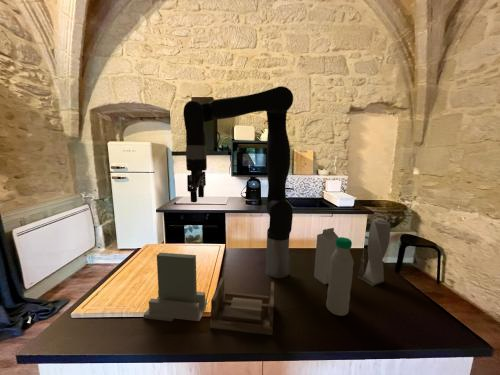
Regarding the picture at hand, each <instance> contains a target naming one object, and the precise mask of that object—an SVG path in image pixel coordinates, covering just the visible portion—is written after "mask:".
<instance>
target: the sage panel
mask: <svg viewBox="0 0 500 375" xmlns="http://www.w3.org/2000/svg"><path fill="white" fill-rule="evenodd" d="M156 267H157V287H158V288H157V289H158V290H159V299H161V300H171V301H180V302H190V303H197V292H198V290H197V286H198V285H197V255H195V254H189V253H188V254H184V253H174V252H173V253H171V252H159V253H157V255H156ZM158 290H157V291H158Z"/></svg>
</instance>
